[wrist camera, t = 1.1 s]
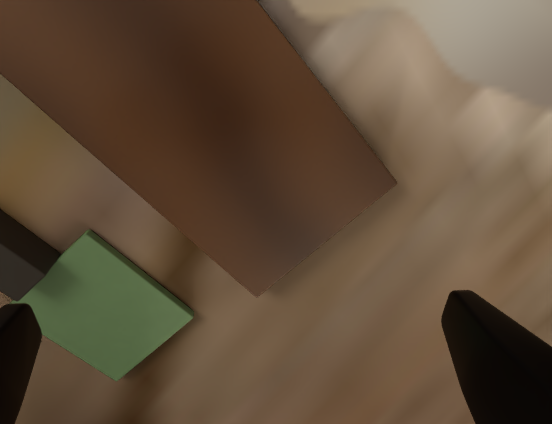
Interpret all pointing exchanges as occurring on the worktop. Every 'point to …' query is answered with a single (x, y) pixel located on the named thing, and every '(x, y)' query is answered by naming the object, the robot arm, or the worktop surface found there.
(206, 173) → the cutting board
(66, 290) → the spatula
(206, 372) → the worktop surface
